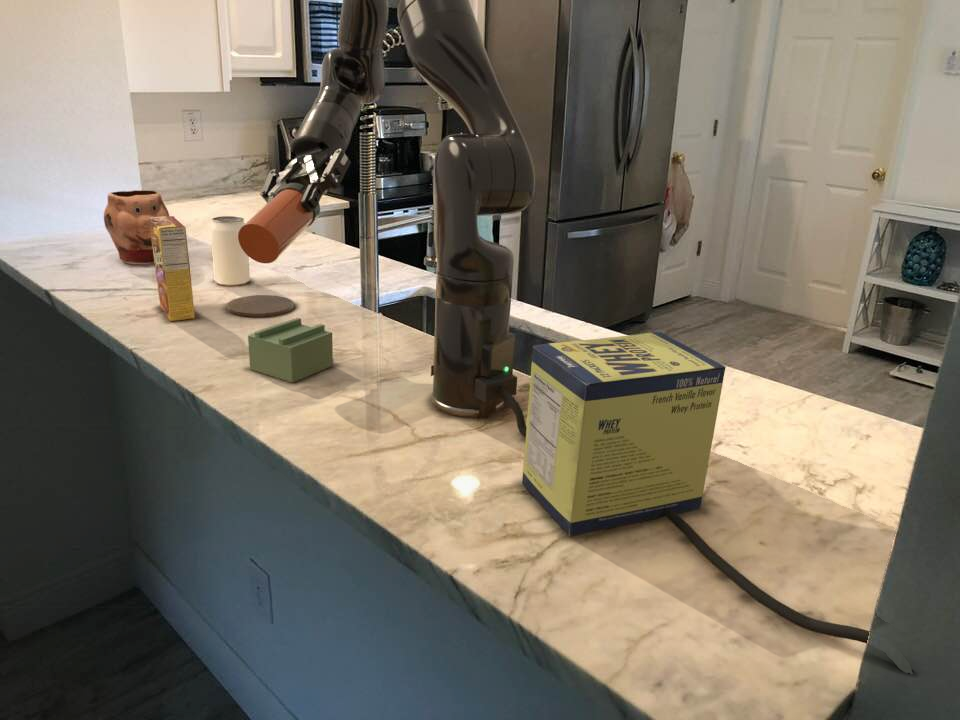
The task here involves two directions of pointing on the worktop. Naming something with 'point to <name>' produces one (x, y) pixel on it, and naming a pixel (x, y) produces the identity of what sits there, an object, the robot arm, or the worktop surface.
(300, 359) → the stand
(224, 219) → the can
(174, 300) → the candy box
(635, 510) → the protein box
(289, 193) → the jar
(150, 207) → the decorative planter
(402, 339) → the worktop surface
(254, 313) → the coaster
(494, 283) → the robot arm
